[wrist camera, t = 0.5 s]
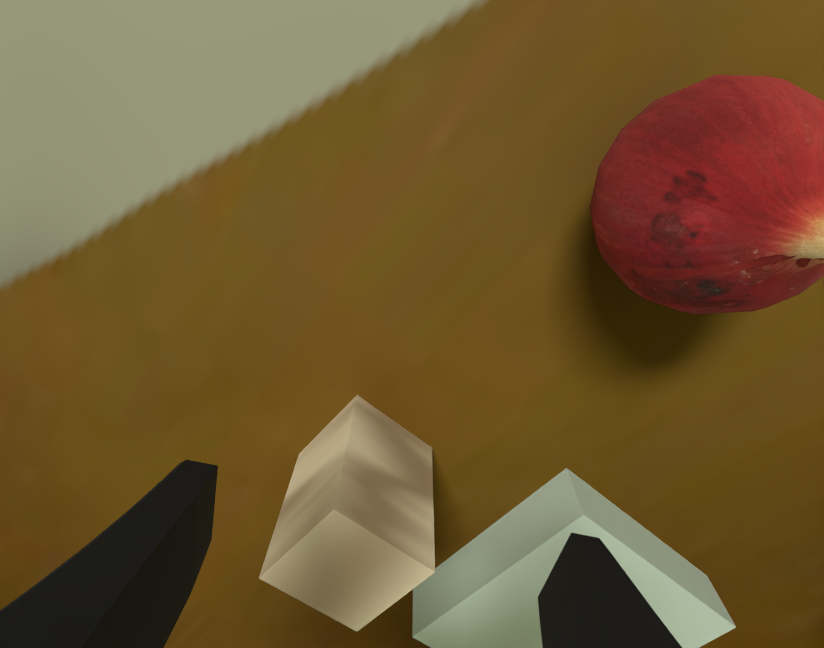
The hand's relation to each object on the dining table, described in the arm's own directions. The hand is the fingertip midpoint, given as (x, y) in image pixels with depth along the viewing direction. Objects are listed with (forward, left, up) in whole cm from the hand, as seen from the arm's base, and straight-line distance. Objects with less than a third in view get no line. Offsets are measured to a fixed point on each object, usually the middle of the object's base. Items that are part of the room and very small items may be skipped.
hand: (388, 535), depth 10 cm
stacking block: (-15, +6, -10) cm, 19 cm away
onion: (-3, -9, -10) cm, 14 cm away
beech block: (-3, +6, -10) cm, 12 cm away
